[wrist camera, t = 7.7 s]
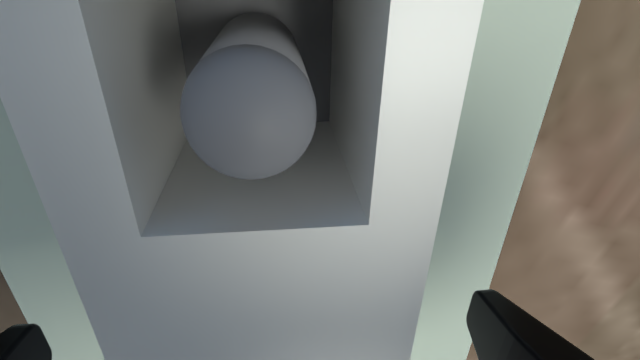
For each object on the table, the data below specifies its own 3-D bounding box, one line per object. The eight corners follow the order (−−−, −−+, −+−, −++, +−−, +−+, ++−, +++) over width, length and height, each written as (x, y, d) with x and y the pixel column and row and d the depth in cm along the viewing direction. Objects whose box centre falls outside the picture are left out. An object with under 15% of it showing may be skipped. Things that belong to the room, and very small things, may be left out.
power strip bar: (394, -127, 7) (530, -225, 3) (346, 409, 14) (370, 549, 11) (88, -141, 6) (-150, -279, 3) (210, 423, 14) (191, 576, 10)
